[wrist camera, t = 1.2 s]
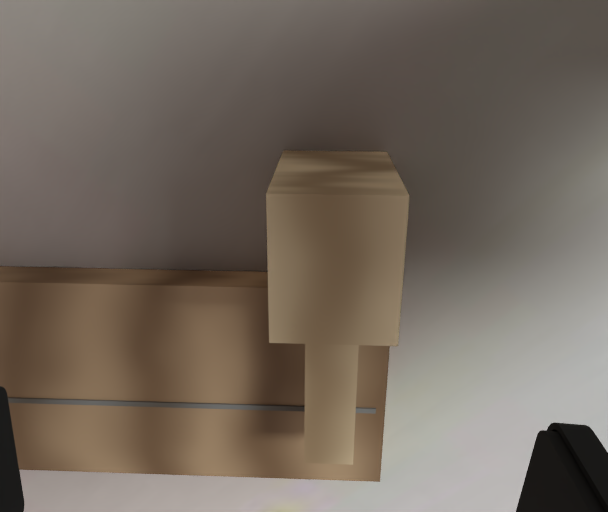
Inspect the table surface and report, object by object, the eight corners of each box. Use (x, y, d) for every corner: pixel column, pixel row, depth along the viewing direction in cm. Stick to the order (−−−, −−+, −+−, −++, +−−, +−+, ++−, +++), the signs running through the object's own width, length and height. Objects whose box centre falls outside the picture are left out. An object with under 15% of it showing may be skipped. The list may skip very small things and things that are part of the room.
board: (389, 274, 29) (393, 291, 27) (376, 456, 33) (380, 482, 31) (-59, 265, 30) (-86, 281, 28) (-13, 444, 34) (-33, 468, 32)
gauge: (387, 151, 27) (409, 195, 19) (371, 400, 32) (384, 510, 24) (283, 150, 27) (266, 193, 19) (285, 398, 32) (272, 506, 25)
